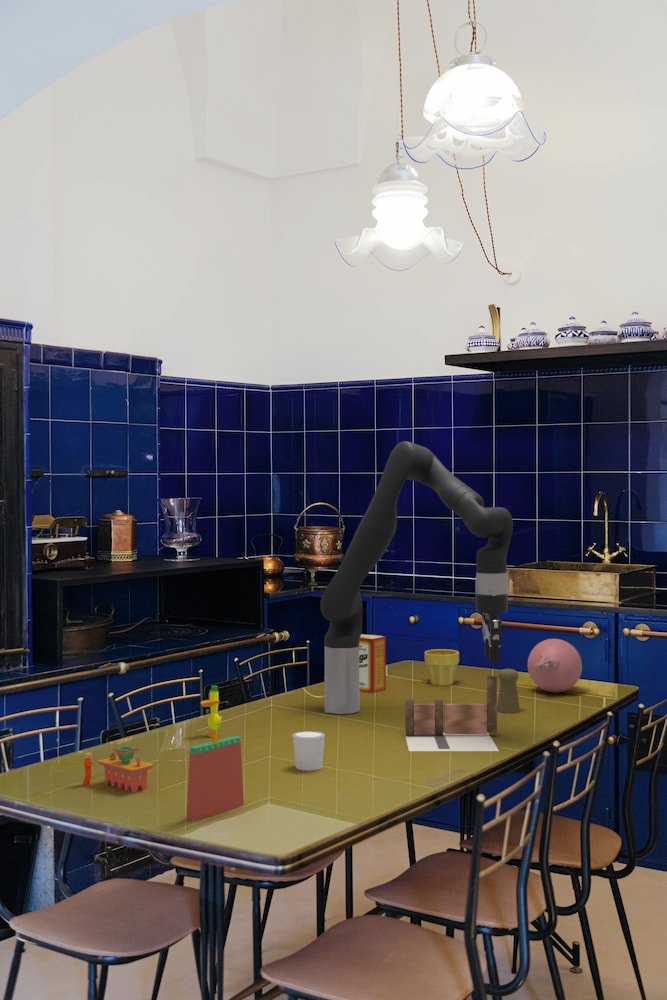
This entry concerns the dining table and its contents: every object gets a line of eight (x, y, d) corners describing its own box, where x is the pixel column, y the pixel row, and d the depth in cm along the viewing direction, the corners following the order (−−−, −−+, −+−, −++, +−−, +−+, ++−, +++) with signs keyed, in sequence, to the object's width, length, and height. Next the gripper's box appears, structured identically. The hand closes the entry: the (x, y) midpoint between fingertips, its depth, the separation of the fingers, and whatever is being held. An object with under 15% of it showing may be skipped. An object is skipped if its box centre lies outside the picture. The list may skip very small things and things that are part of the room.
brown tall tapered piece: (519, 708, 286) (519, 667, 286) (520, 713, 280) (520, 671, 280) (496, 708, 287) (496, 667, 287) (497, 713, 281) (497, 671, 281)
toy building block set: (193, 822, 191) (193, 742, 190) (75, 786, 213) (74, 715, 213) (244, 806, 200) (243, 730, 200) (125, 774, 223) (124, 706, 223)
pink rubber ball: (511, 696, 304) (511, 641, 304) (540, 685, 320) (540, 634, 320) (562, 702, 295) (562, 646, 295) (590, 690, 311) (590, 638, 311)
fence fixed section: (405, 736, 253) (405, 701, 253) (405, 734, 255) (404, 699, 255) (443, 736, 253) (443, 701, 253) (442, 734, 255) (442, 699, 255)
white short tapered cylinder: (314, 772, 222) (314, 739, 222) (286, 768, 226) (286, 735, 226) (330, 765, 228) (330, 732, 228) (303, 761, 232) (303, 729, 232)
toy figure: (206, 740, 252) (206, 689, 251) (196, 737, 254) (196, 687, 254) (227, 734, 257) (227, 685, 257) (216, 732, 259) (216, 683, 259)
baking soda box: (346, 689, 314) (346, 635, 314) (359, 686, 319) (359, 632, 319) (372, 693, 308) (372, 637, 308) (385, 689, 314) (385, 635, 313)
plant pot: (425, 687, 318) (425, 654, 318) (423, 680, 328) (423, 649, 328) (460, 687, 317) (460, 654, 317) (457, 681, 328) (457, 649, 328)
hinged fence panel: (445, 735, 253) (444, 677, 252) (444, 732, 255) (444, 675, 255) (497, 734, 252) (497, 677, 252) (496, 732, 255) (496, 675, 255)
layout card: (409, 752, 239) (409, 750, 239) (404, 734, 257) (404, 732, 257) (499, 752, 239) (499, 750, 239) (488, 734, 257) (488, 732, 257)
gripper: (472, 589, 261) (472, 655, 261) (479, 594, 246) (480, 665, 246) (502, 588, 260) (503, 655, 261) (512, 594, 246) (512, 665, 246)
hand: (492, 660), depth 254 cm, fingers open, 8 cm apart
